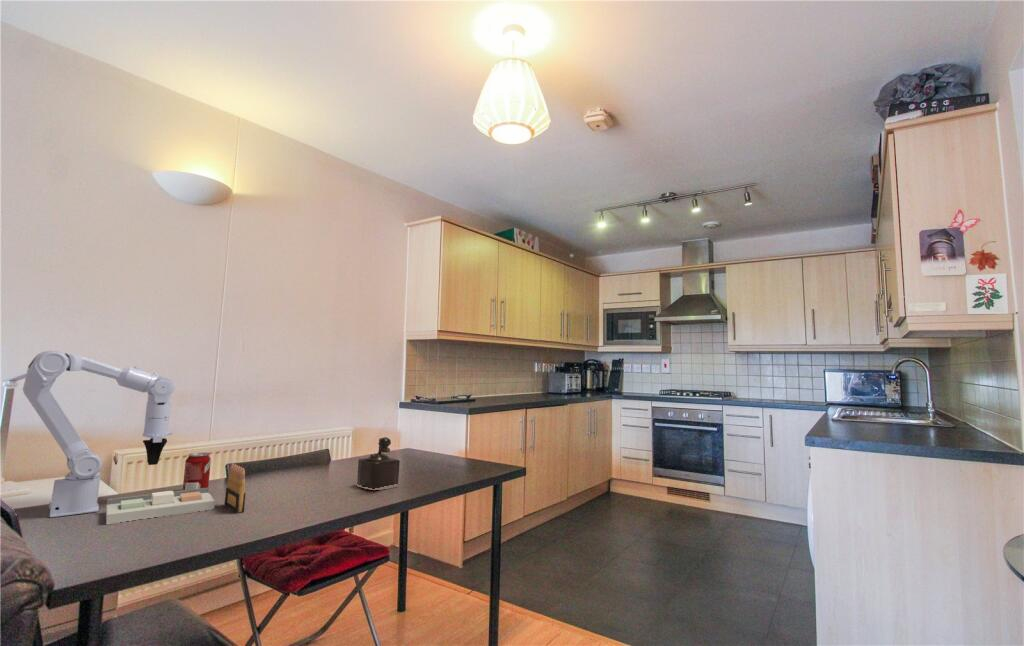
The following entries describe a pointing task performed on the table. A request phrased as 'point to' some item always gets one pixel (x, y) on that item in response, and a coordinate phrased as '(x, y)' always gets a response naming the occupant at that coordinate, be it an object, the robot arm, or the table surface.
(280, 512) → the table surface
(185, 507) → the keypad
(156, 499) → the key middle
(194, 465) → the soda can
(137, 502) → the key left
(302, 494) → the table surface
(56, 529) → the table surface
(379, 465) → the dark box with figurine
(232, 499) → the pencil pack
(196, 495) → the key right
